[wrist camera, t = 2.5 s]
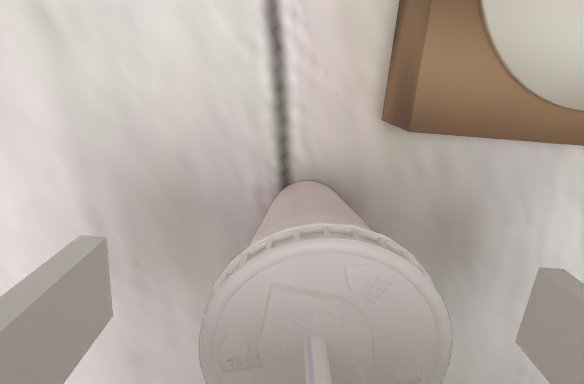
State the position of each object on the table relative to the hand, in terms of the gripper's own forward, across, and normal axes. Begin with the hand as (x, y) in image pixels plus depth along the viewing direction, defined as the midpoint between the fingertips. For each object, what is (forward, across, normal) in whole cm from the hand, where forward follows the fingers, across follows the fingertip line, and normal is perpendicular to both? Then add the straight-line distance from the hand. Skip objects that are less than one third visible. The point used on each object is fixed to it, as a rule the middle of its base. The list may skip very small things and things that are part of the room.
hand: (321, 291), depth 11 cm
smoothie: (+7, 0, 0) cm, 7 cm away
